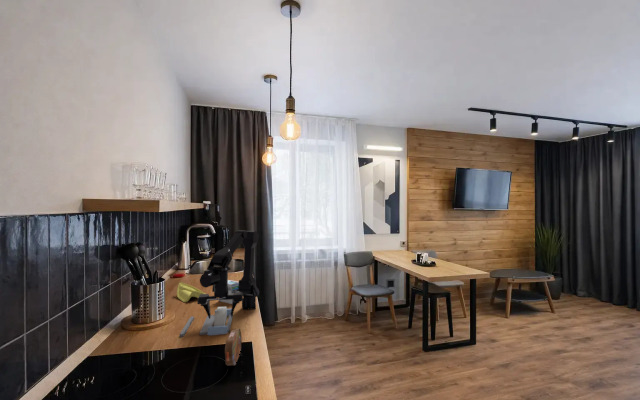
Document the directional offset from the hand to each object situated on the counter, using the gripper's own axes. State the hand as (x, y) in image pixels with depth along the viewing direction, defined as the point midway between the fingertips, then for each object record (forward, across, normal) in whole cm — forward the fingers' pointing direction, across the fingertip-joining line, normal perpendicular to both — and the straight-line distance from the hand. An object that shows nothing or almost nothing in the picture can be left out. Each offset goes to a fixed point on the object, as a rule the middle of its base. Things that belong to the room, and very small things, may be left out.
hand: (220, 317), depth 130 cm
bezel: (+3, 0, 0) cm, 3 cm away
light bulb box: (+3, -1, -34) cm, 34 cm away
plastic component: (+4, +22, -47) cm, 53 cm away
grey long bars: (+3, +5, 0) cm, 6 cm away
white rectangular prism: (+3, 0, 0) cm, 3 cm away
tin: (+3, -8, +33) cm, 34 cm away
